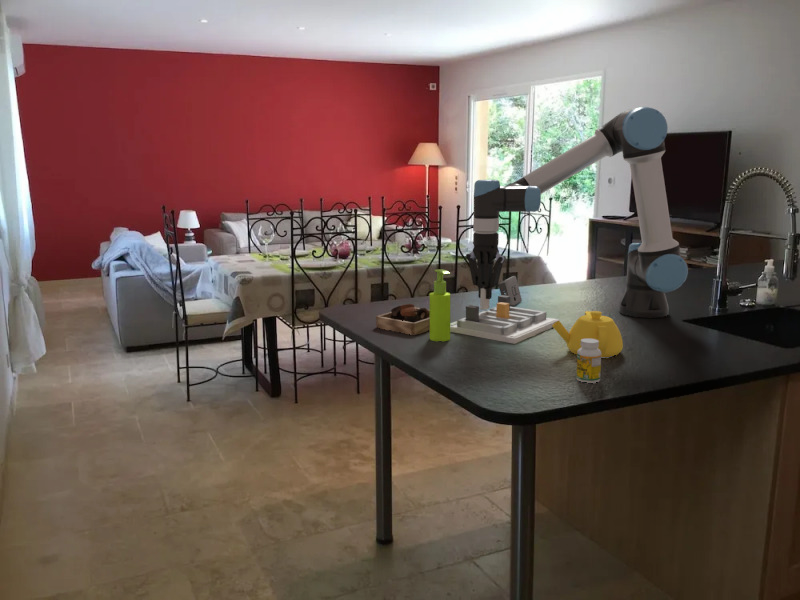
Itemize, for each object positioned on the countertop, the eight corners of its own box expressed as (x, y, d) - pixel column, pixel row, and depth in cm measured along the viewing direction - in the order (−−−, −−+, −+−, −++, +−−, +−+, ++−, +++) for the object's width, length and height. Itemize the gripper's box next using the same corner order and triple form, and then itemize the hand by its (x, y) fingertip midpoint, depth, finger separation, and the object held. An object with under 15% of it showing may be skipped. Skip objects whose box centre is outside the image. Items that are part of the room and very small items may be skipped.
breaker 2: (510, 314, 219) (510, 296, 217) (505, 315, 216) (505, 297, 215) (502, 312, 220) (502, 294, 219) (497, 314, 218) (497, 296, 217)
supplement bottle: (604, 382, 159) (607, 342, 157) (586, 385, 157) (588, 344, 155) (589, 375, 164) (591, 336, 162) (571, 378, 162) (573, 339, 160)
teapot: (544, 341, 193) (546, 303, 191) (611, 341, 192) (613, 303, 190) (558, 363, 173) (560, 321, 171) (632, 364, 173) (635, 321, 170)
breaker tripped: (509, 321, 209) (509, 303, 207) (504, 323, 206) (504, 304, 205) (500, 320, 211) (501, 301, 209) (495, 322, 208) (496, 303, 207)
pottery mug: (392, 333, 205) (386, 307, 207) (396, 339, 214) (390, 314, 216) (431, 323, 204) (425, 297, 206) (434, 329, 213) (427, 304, 216)
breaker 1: (479, 325, 205) (479, 306, 204) (473, 327, 203) (473, 308, 202) (470, 323, 207) (470, 304, 206) (465, 325, 205) (465, 306, 203)
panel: (559, 324, 212) (559, 313, 211) (514, 343, 191) (514, 331, 190) (492, 313, 226) (492, 302, 226) (444, 330, 206) (444, 318, 205)
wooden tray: (448, 323, 214) (448, 312, 213) (414, 335, 201) (414, 323, 200) (410, 317, 223) (409, 306, 222) (375, 327, 210) (375, 316, 209)
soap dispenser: (438, 343, 192) (438, 272, 188) (425, 337, 198) (425, 269, 194) (456, 340, 195) (456, 270, 191) (443, 335, 201) (443, 267, 197)
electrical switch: (513, 306, 236) (511, 280, 234) (498, 306, 238) (497, 280, 237) (522, 301, 244) (520, 275, 242) (508, 301, 246) (506, 275, 245)
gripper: (511, 232, 206) (509, 309, 211) (474, 229, 214) (473, 303, 219) (498, 234, 200) (496, 314, 205) (460, 231, 208) (460, 308, 213)
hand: (484, 308), depth 212 cm, fingers closed
